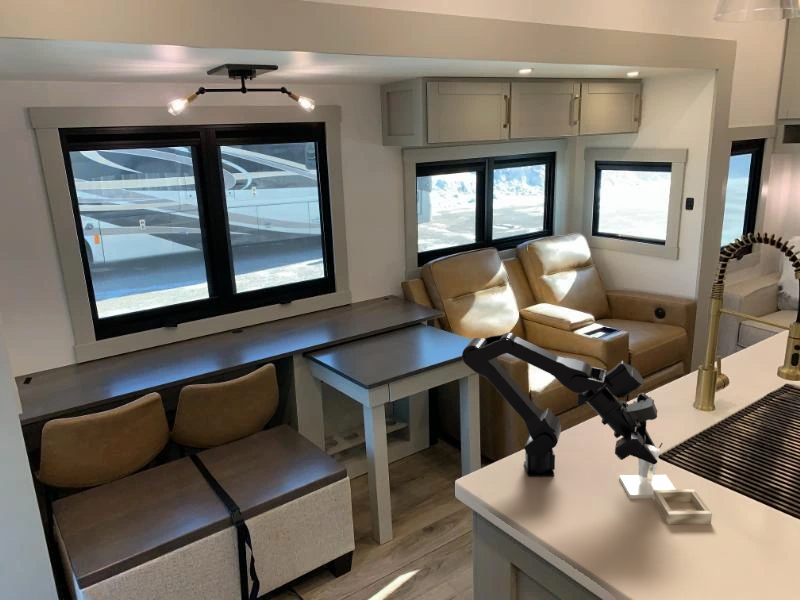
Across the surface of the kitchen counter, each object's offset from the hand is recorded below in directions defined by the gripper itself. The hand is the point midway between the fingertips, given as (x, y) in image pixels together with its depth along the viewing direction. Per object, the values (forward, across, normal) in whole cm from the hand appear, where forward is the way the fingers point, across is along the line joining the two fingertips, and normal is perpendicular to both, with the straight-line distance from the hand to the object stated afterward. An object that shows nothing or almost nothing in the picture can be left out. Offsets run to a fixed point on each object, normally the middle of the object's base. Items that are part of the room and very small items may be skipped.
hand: (656, 457), depth 141 cm
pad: (+5, 0, +7) cm, 8 cm away
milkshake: (+4, 0, +6) cm, 7 cm away
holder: (+10, -7, +2) cm, 12 cm away
